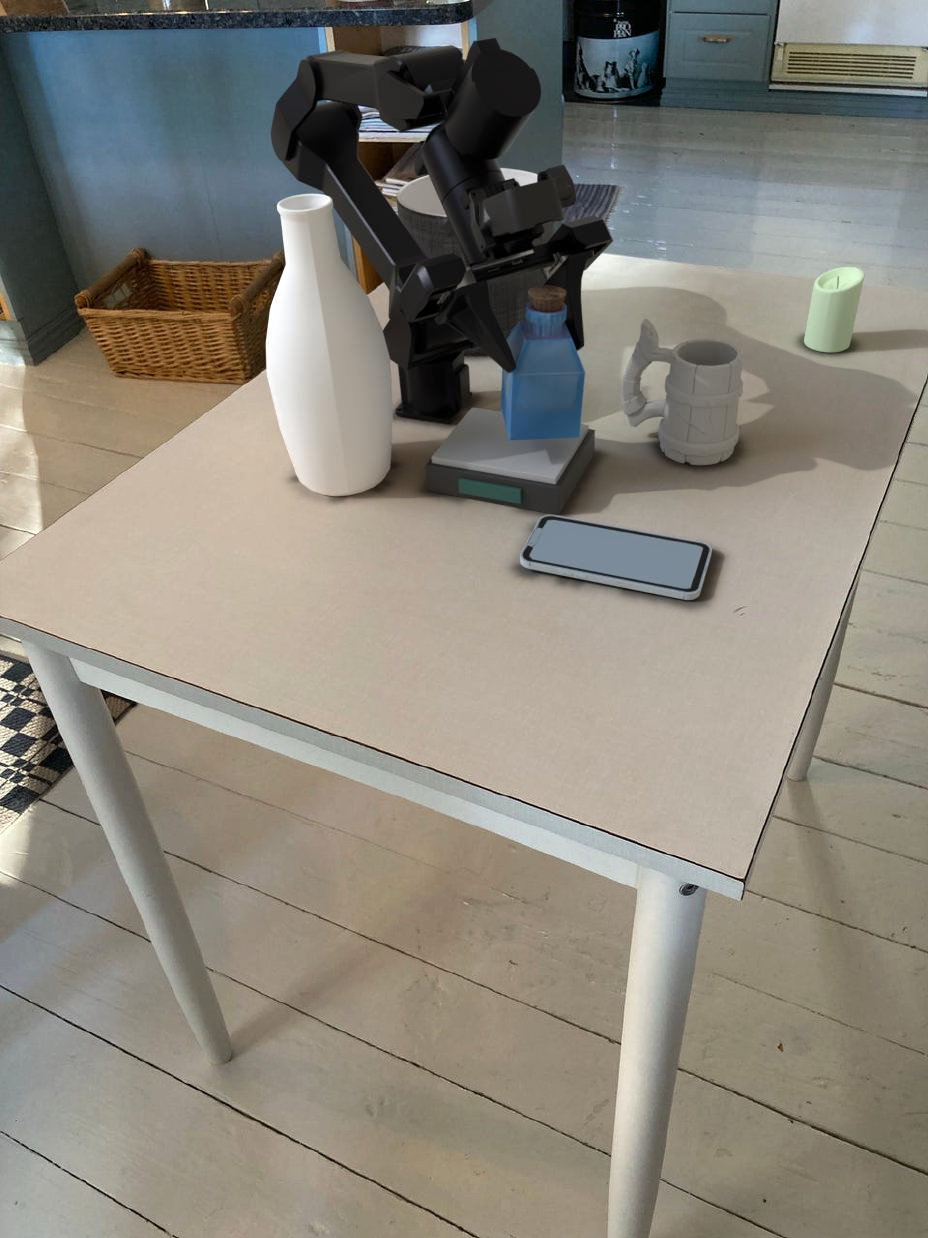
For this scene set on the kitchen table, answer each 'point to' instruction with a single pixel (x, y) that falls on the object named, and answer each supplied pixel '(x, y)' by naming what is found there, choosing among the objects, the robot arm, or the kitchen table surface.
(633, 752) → the kitchen table surface
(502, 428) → the scale
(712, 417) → the mug
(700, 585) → the smartphone
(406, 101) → the robot arm
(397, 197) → the planter
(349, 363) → the bottle
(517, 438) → the perfume bottle
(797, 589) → the kitchen table surface
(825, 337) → the candle
